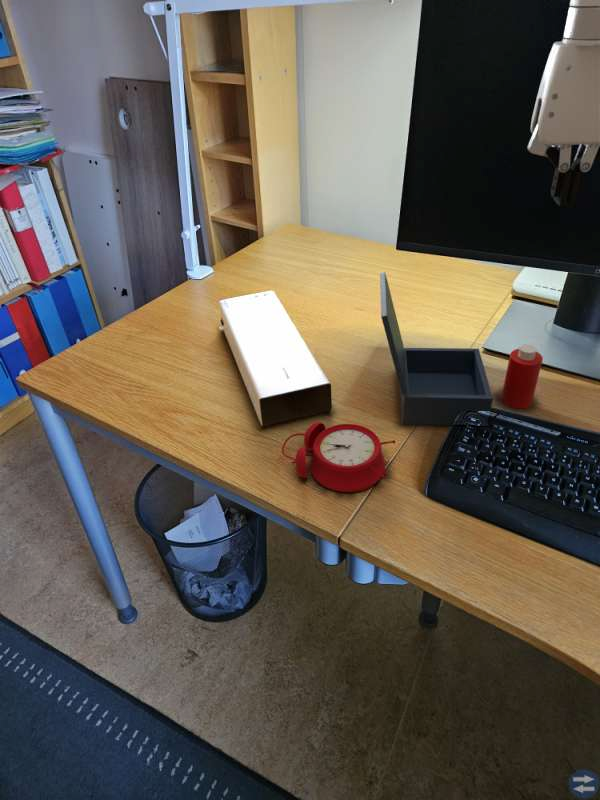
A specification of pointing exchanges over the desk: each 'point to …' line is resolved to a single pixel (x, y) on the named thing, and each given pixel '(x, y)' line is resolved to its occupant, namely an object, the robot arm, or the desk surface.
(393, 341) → the bin lid
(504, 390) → the ketchup bottle
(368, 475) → the alarm clock
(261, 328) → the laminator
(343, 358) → the desk surface
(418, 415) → the bin
